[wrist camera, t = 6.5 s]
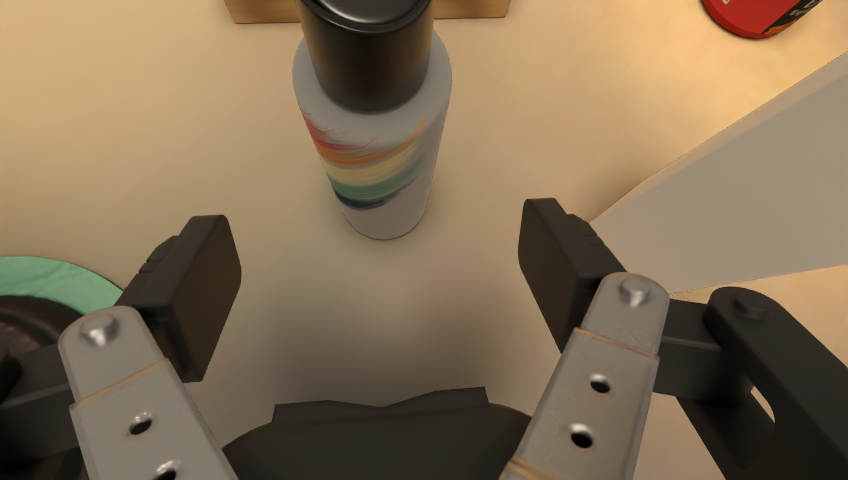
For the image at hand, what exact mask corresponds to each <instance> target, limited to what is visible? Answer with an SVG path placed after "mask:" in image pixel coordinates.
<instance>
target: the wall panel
mask: <svg viewBox="0 0 848 480" xmlns="http://www.w3.org/2000/svg"><path fill="white" fill-rule="evenodd" d="M224 2H225V4H226V6H227V8H228V10H229V12H230V13H231V15H232V17H233V19H234V21H235V23H268V22H300V19H299V15H298V12H297V8H296V5H295V1H294V0H224ZM509 3H510V0H436V5H435V13H434V19H437V18H479V17H505V15H506V12H507V9H508V6H509Z"/></svg>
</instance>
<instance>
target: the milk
mask: <svg viewBox="0 0 848 480" xmlns="http://www.w3.org/2000/svg"><path fill="white" fill-rule="evenodd" d="M589 224H590V226H591V227H592V228H593V229H594V231H595V232H596V233H597V236H599V237H600V238H601V239H602V241H603V242H604V245H605V246H607V247H608V248H609V249H610V251H611V252H612V253H613V254H614V256H615V257H616V258H617V259H618V261H619V262H620V263H621V264H622V266H623V267H624V268H625V269H626V271H627V272H629V273H635V274H639V275H642V276H645V277H648V278H650V279H652V280H654V281H656V282H657V283H658V284H660V285H661V286H662V287H663V288H664V289H665V290H666V291H667V293H668V294H670V293H676V292H682V291H688V290H694V289H700V288H707V287H713V286H719V285H725V284H731V283H737V282H743V281H749V280H755V279H761V278H767V277H773V276H779V275H785V274H791V273H797V272H803V271H809V270H815V269H821V268H827V267H833V266H839V265H845V264H848V51H846V52H845V53H843V54H842V55H840V56H839V57H837V58H836V59H834V60H832V61H831V62H829V63H828V64H826V65H825V66H823V67H821V68H820V69H818V70H817V71H815V72H814V73H812V74H810V75H809V76H807V77H806V78H804V79H803V80H801V81H799V82H798V83H796V84H795V85H793V86H792V87H790V88H788V89H787V90H785V91H784V92H782V93H781V94H779V95H777V96H776V97H774V98H773V99H771V100H770V101H768V102H766V103H765V104H763V105H762V106H760V107H759V108H757V109H755V110H754V111H752V112H751V113H749V114H748V115H746V116H744V117H743V118H741V119H740V120H738V121H737V122H735V123H734V124H732V125H730V126H729V127H727V128H726V129H724V130H723V131H721V132H719V133H718V134H716V135H715V136H713V137H712V138H710V139H708V140H707V141H705V142H704V143H702V144H701V145H699V146H697V147H696V148H694V149H693V150H691V151H690V152H688V153H686V154H685V155H683V156H682V157H680V158H679V159H677V160H675V161H674V162H672V163H671V164H669V165H668V166H666V167H664V168H663V169H661V170H660V171H658V172H657V173H655V174H653V175H652V176H650V177H649V178H647V179H646V180H644V181H643V182H641V183H640V184H639V185H637V186H636V187H635V188H633V189H632V190H631V191H630V192H628V193H627V194H626V195H624V196H623V197H622V198H621V199H619V200H618V201H617V202H615V203H614V204H613V205H612V206H610V207H609V208H608V209H607V210H605V211H604V212H603V213H601V214H600V215H599V216H598V217H596V218H595V219H594V220H592V221H591V222H590V223H589Z"/></svg>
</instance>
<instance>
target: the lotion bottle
mask: <svg viewBox="0 0 848 480" xmlns="http://www.w3.org/2000/svg"><path fill="white" fill-rule="evenodd" d="M294 1H295V5H296V8H297V12H298V15H299V19H300V22H301V26H302V29H303V33H304V37H303V39H302V40H301V42H300V44H299V46H298V48H297V51H296V54H295V57H294V62H293V70H292V75H293V87H294V91H295V95H296V98H297V101H298V104H299V107H300V110H301V112H302V115H303V117H304V120H305V122H306V125H307V127H308V130H309V132H310V134H311V137H312V139H313V142H314V144H315V146H316V149H317V151H318V153H319V156H320V158H321V161H322V163H323V165H324V168H325V170H326V173H327V175H328V177H329V180H330V182H331V185H332V187H333V189H334V192H335V194H336V197H337V199H338V201H339V204H340V206H341V208H342V210H343V213H344V215H345V216H346V218H347V220H348V221H349V222H350V224H351V225H352V226H353V227H354V228H355V229H356V230H357V231H359V232H360V233H362V234H364V235H366V236H368V237H371V238H375V239H393V238H397V237H399V236H402V235H404V234H406V233H407V232H409V231H410V230H411V229H413V228H414V227H415V226H416V224H417V223H418V222H419V220H420V219H421V217H422V215H423V213H424V210H425V207H426V203H427V199H428V195H429V190H430V186H431V181H432V177H433V172H434V168H435V163H436V159H437V154H438V150H439V145H440V141H441V136H442V132H443V127H444V123H445V118H446V114H447V109H448V104H449V99H450V94H451V86H452V71H451V63H450V58H449V55H448V52H447V50H446V48H445V46H444V44H443V42H442V40H441V39H440V37H439V36H438V35H437V33H436V32H435V31H434V30H433V22H434V13H435V5H436V0H294Z"/></svg>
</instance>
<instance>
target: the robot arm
mask: <svg viewBox="0 0 848 480" xmlns="http://www.w3.org/2000/svg"><path fill="white" fill-rule="evenodd" d="M518 258H519V264H520V268H521V270H522V272H523V274H524V276H525V279H526V281H527V283H528V285H529V287H530V289H531V291H532V293H533V296H534V298H535V300H536V302H537V304H538V306H539V308H540V310H541V312H542V315H543V317H544V319H545V321H546V323H547V325H548V327H549V329H550V332H551V334H552V336H553V338H554V340H555V342H556V344H557V346H558V349H559V351H560V353H561V354H562V355H561V357H560V360H559V362H558V364H557V366H556V368H555V370H554V372H553V374H552V376H551V379H550V381H549V383H548V385H547V387H546V389H545V391H544V393H543V396H542V398H541V400H540V402H539V404H538V406H537V408H536V410H535V412H534V415H533V417H531V416H528V415H526V414H524V413H522V412H520V411H518V410H515V409H512V408H510V407H506V406H502V405H498V404H493V403H489V402H488V398H487V395H486V391H485V387H475V388H463V389H452V390H440V391H433V392H430V393H426V394H423V395H420V396H417V397H414V398H411V399H408V400H404V401H401V402H398V403H395V404H392V405H389V406H385V407H374V406H367V405H360V404H353V403H346V402H338V401H331V400H323V401H311V402H300V403H288V404H276V405H275V409H274V413H273V418H272V422H271V423H268V424H265V425H262V426H260V427H258V428H255V429H253V430H251V431H249V432H247V433H245V434H243V435H242V436H240V437H238V438H237V439H235V440H233V441H232V442H230V443H229V444H227V445H226V446H225V447H223V448H222V449H221V448H220V446H219V445H218V443H217V441H216V440H215V438H214V436H213V434H212V433H211V431H210V429H209V428H208V426H207V424H206V422H205V421H204V419H203V417H202V416H201V414H200V412H199V410H198V409H197V407H196V405H195V404H194V402H193V400H192V398H191V397H190V395H189V393H188V392H187V390H186V388H185V386H184V385H183V383H188V382H200V381H202V380H203V377H204V375H205V372H206V370H207V367H208V365H209V362H210V360H211V357H212V355H213V352H214V350H215V347H216V345H217V342H218V340H219V337H220V335H221V332H222V330H223V327H224V325H225V322H226V320H227V317H228V315H229V312H230V310H231V307H232V305H233V302H234V300H235V297H236V295H237V292H238V290H239V287H240V284H241V265H240V261H239V257H238V254H237V250H236V247H235V243H234V240H233V236H232V233H231V229H230V226H229V222H228V220H227V218H226V217H225V216H224V215H207V216H193V217H191V218H190V220H189V221H188V223H187V224H186V226H185V227H184V229H183V230H182V231H181V233H180V234H179V236H172V237H170V238H169V239H168V240H166V241H165V242H163V243H162V244H160V245H159V246H158V247H156V248H155V250H154V251H153V252H152V254H151V255H150V256H149V258H148V259H147V260H146V261H147V263H144V264H143V266H142V267H141V269H140V270H139V274H136V275H135V277H134V278H133V279H132V281H131V282H130V283H129V285H128V286H127V288H126V289H125V290H124V292H123V293H122V294H121V296H120V297H119V298H118V300H117V301H116V302H115V304H114V305H113V306H112V307H107V308H103V309H99V310H96V311H94V312H91V313H89V314H87V315H85V316H83V317H81V318H79V319H78V320H76V321H75V322H73V323H72V324H71V325H69V326H68V327H67V328H66V329H65V330H64V331H63V333H62V334H61V335H60V337H59V339H58V343H57V344H53V345H50V346H46V347H42V348H38V349H35V350H31V351H27V352H23V353H20V354H16V355H14V354H13V352H12V351H11V349H10V348H9V347H8V345H7V344H6V343H5V341H3V340H1V339H0V480H53V478H54V476H55V474H56V473H57V471H58V469H59V467H60V465H61V463H62V462H63V460H64V458H65V456H66V454H67V452H68V451H69V449H72V448H75V447H77V446H80V449H81V452H82V455H83V459H84V462H85V465H86V469H87V472H88V475H89V479H90V480H632V479H633V475H634V471H635V466H636V462H637V457H638V453H639V449H640V444H641V440H642V435H643V431H644V427H645V422H646V418H647V414H648V409H649V405H650V400H651V396H652V392H656V393H661V394H666V395H672V396H675V397H676V398H677V400H678V402H679V403H680V405H681V407H682V408H683V410H684V412H685V413H686V415H687V416H688V418H689V420H690V421H691V423H692V425H693V426H694V428H695V430H696V431H697V433H698V434H699V436H700V438H701V439H702V441H703V443H704V444H705V446H706V448H707V449H708V451H709V452H710V454H711V456H712V457H713V459H714V461H715V462H716V464H717V466H718V467H719V469H720V470H721V472H722V474H723V475H724V477H725V479H726V480H848V368H847V367H846V366H845V365H844V364H843V363H842V362H841V361H840V360H839V359H838V358H837V357H836V356H835V355H834V354H832V353H831V352H830V351H829V350H828V349H827V348H826V347H825V346H824V345H823V344H822V343H821V342H820V341H819V340H817V339H816V338H815V337H814V336H813V335H812V334H811V333H810V332H809V331H808V330H807V329H806V328H805V327H804V326H803V325H801V324H800V323H799V322H798V321H797V320H796V319H795V318H794V317H793V316H792V315H791V314H790V313H789V312H788V311H787V310H785V309H784V308H783V307H782V306H781V305H780V304H779V303H777V302H776V301H774V300H773V299H771V298H769V297H767V296H765V295H763V294H761V293H759V292H756V291H753V290H749V289H746V288H741V287H722V288H718V289H716V290H715V291H713V293H712V294H711V296H710V299H709V301H708V303H707V304H702V303H695V302H688V301H681V300H675V299H670V298H669V295H668V293H667V291H666V290H665V289H664V288H663V287H662V286H661V285H660V284H658V283H657V282H656V281H654V280H652V279H650V278H648V277H645V276H642V275H639V274H635V273H629V272H627V271H626V269H625V268H624V267H623V266H622V264H621V263H620V262H619V261H618V259H617V258H616V257H615V256H614V254H613V253H612V252H611V251H610V249H609V248H608V247H607V246H605V245H604V242H603V241H602V239H601V238H600V237H599V236H597V233H596V232H595V231H594V229H593V228H592V227H591V226H590V224H589V223H587V222H586V221H584V220H582V219H581V218H579V217H577V216H576V215H574V214H566V212H565V211H564V210H563V208H562V207H561V206H560V204H559V203H558V202H557V200H556V199H555V198H539V199H527V200H526V201H525V203H524V206H523V213H522V221H521V229H520V237H519V245H518ZM754 386H755V387H756V388H757V389H758V391H759V392H760V393H761V394H762V396H763V397H764V398H765V399H766V400H767V402H768V403H769V405H770V407H771V409H772V411H773V414H774V418H775V423H774V422H773V420H772V419H771V418H770V416H769V415H768V414H767V413H766V411H765V410H764V409H763V408H762V406H761V405H760V404H759V402H758V401H757V400H756V399H755V397H754V396H753V395H752V394H751V390H752V388H753V387H754Z"/></svg>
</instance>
